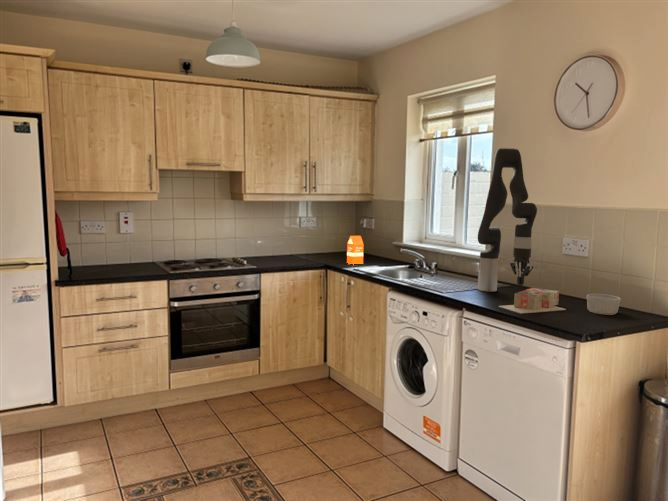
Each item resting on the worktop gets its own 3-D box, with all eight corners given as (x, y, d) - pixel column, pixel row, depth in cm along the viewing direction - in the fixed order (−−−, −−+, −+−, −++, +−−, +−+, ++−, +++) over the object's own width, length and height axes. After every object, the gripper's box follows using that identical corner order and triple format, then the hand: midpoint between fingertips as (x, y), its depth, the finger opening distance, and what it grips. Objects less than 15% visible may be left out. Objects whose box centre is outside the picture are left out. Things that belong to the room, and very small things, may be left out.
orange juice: (363, 264, 370) (363, 236, 368) (352, 265, 366) (353, 236, 364) (357, 263, 377) (357, 235, 375) (346, 263, 373) (347, 235, 370)
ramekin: (623, 312, 230) (624, 296, 229) (615, 317, 220) (616, 300, 220) (590, 307, 239) (591, 292, 238) (581, 312, 229) (582, 296, 228)
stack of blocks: (513, 307, 235) (541, 311, 226) (514, 293, 234) (542, 297, 226) (532, 300, 250) (558, 304, 242) (532, 287, 250) (559, 291, 242)
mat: (498, 306, 236) (498, 305, 236) (542, 303, 245) (542, 302, 245) (520, 313, 223) (520, 312, 223) (565, 309, 232) (566, 309, 232)
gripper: (505, 245, 244) (504, 282, 246) (525, 248, 232) (523, 287, 233) (519, 245, 247) (517, 282, 248) (539, 248, 234) (537, 286, 236)
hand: (520, 284), depth 241 cm, fingers closed
